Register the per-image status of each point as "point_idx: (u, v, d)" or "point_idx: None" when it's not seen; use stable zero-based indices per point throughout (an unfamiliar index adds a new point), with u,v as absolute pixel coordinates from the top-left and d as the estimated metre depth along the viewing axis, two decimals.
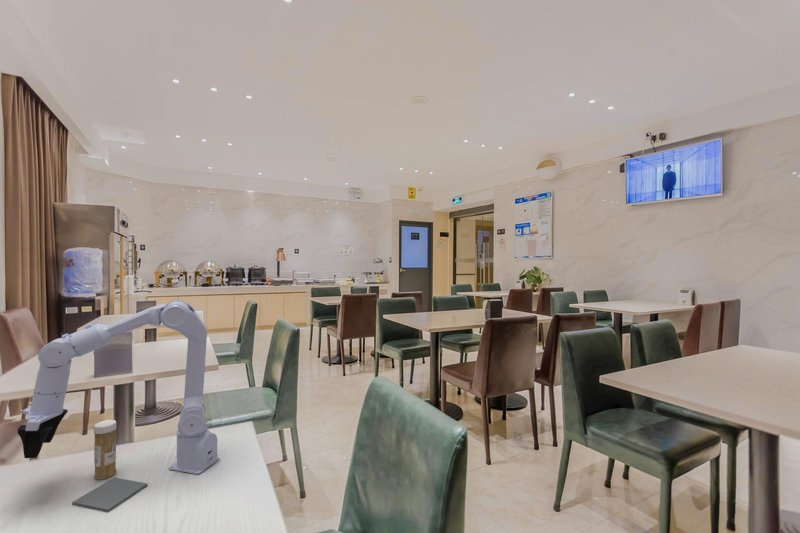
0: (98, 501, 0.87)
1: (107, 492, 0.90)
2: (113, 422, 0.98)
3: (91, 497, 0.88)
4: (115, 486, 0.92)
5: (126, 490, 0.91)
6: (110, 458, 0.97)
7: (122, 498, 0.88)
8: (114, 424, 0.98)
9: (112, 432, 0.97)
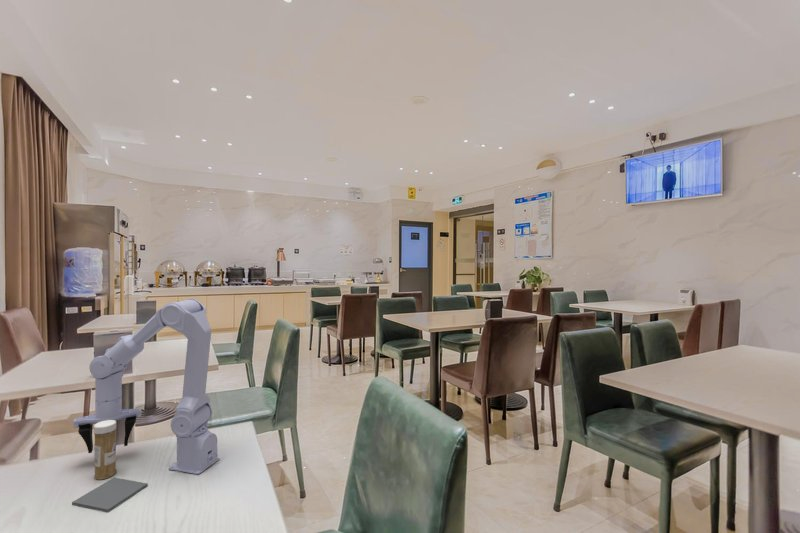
0: (98, 501, 0.87)
1: (107, 492, 0.90)
2: (113, 422, 0.98)
3: (91, 497, 0.88)
4: (115, 486, 0.92)
5: (126, 490, 0.91)
6: (110, 458, 0.97)
7: (122, 498, 0.88)
8: (114, 424, 0.98)
9: (112, 432, 0.97)
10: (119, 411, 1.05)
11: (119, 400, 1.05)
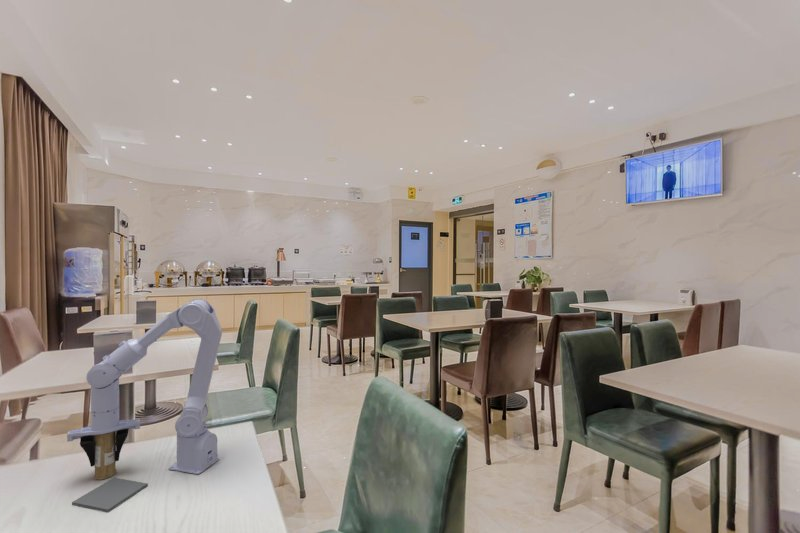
0: (98, 501, 0.87)
1: (107, 492, 0.90)
2: None
3: (91, 497, 0.88)
4: (115, 486, 0.92)
5: (126, 490, 0.91)
6: (110, 458, 0.97)
7: (122, 498, 0.88)
8: None
9: (112, 432, 0.97)
10: (116, 422, 0.98)
11: (116, 411, 0.98)
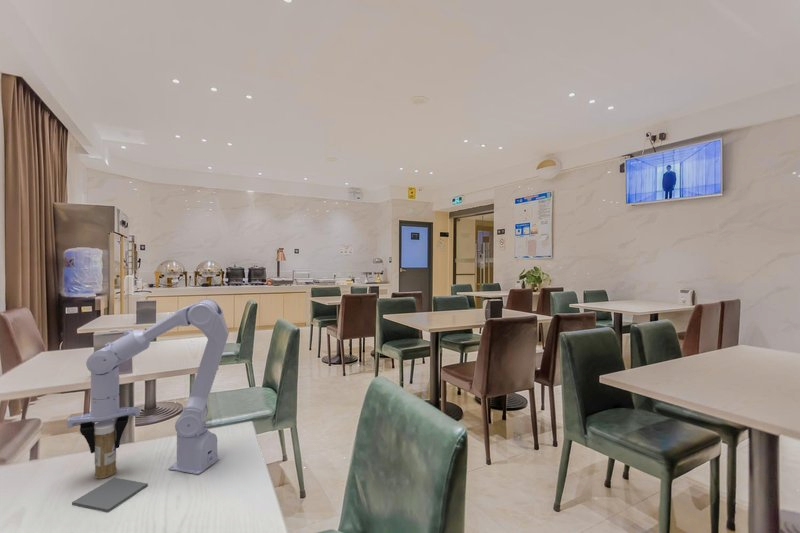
0: (98, 501, 0.87)
1: (107, 492, 0.90)
2: (113, 423, 0.97)
3: (91, 497, 0.88)
4: (115, 486, 0.92)
5: (126, 490, 0.91)
6: (110, 458, 0.97)
7: (122, 498, 0.88)
8: (114, 425, 0.97)
9: (112, 433, 0.97)
10: (116, 409, 0.98)
11: (116, 398, 0.98)
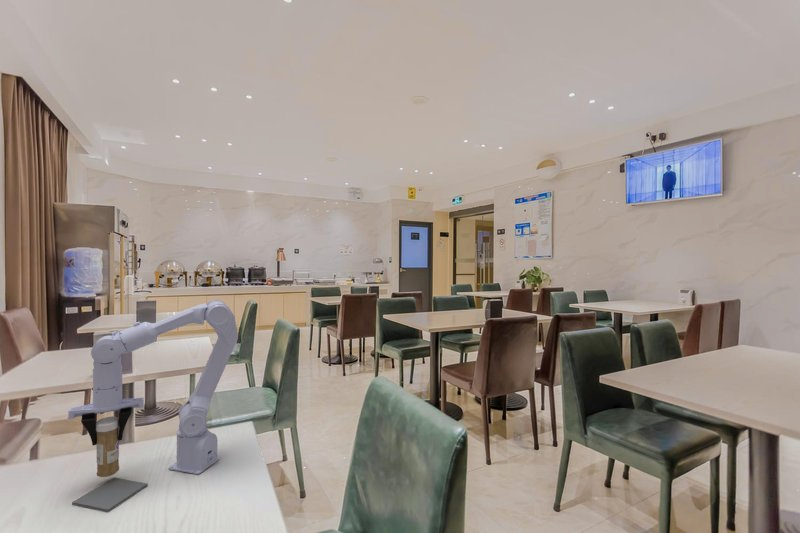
0: (98, 501, 0.87)
1: (107, 492, 0.90)
2: (116, 419, 0.94)
3: (91, 497, 0.88)
4: (115, 486, 0.92)
5: (126, 490, 0.91)
6: (113, 456, 0.94)
7: (122, 498, 0.88)
8: (117, 422, 0.94)
9: (115, 430, 0.94)
10: (119, 400, 0.94)
11: (119, 388, 0.94)
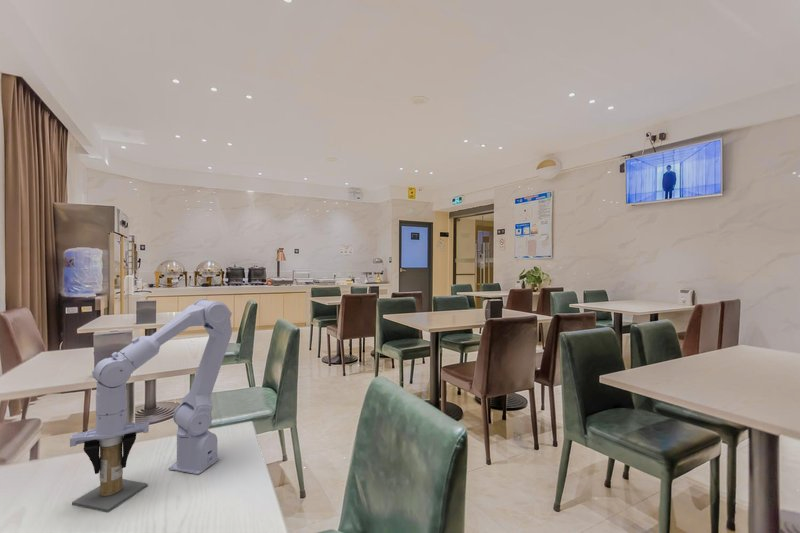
0: (98, 501, 0.87)
1: None
2: None
3: (91, 497, 0.88)
4: None
5: (126, 490, 0.91)
6: (117, 472, 0.90)
7: (122, 498, 0.88)
8: (121, 435, 0.91)
9: (119, 444, 0.90)
10: (123, 426, 0.90)
11: (123, 413, 0.90)
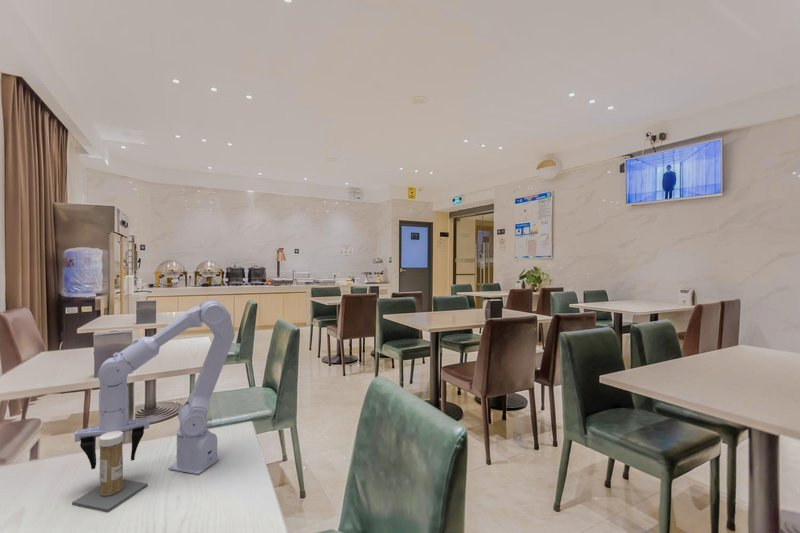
0: (98, 501, 0.87)
1: None
2: (120, 433, 0.91)
3: (91, 497, 0.88)
4: None
5: (126, 490, 0.91)
6: (117, 472, 0.90)
7: (122, 498, 0.88)
8: (121, 435, 0.91)
9: (119, 444, 0.90)
10: (125, 422, 0.95)
11: (125, 410, 0.94)
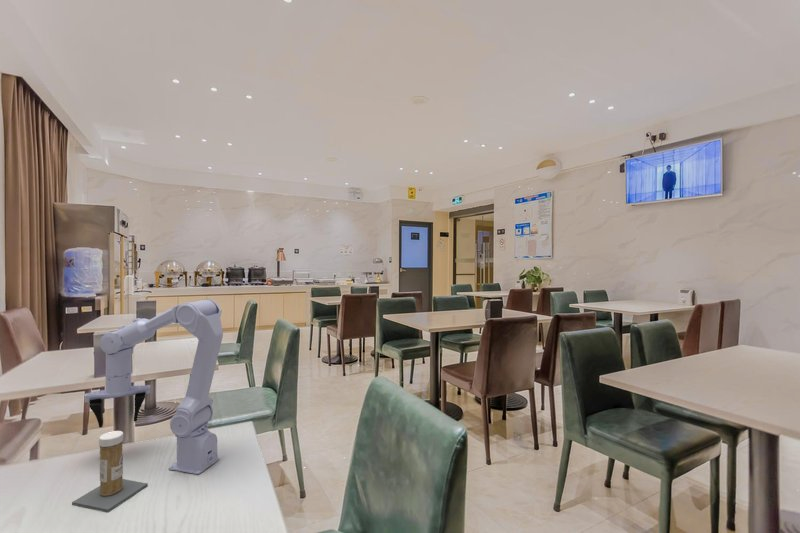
0: (98, 501, 0.87)
1: None
2: (120, 433, 0.91)
3: (91, 497, 0.88)
4: None
5: (126, 490, 0.91)
6: (117, 472, 0.90)
7: (122, 498, 0.88)
8: (121, 435, 0.91)
9: (119, 444, 0.90)
10: (129, 387, 1.06)
11: (129, 376, 1.06)
